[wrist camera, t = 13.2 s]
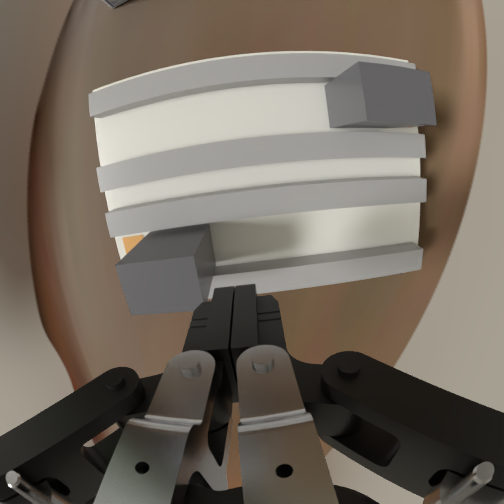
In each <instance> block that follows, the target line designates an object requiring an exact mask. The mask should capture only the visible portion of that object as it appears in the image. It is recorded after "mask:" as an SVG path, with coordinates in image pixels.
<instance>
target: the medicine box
mask: <svg viewBox="0 0 504 504" xmlns="http://www.w3.org/2000/svg"><path fill="white" fill-rule="evenodd" d="M103 1H104V2H105V3H106V4H107V5H108V6H109V7H110V8H112V9H113V8H115V7H117V6H118V5H120V4H122V3H124V2H126V1H127V0H103Z"/></svg>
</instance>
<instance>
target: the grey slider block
mask: <svg viewBox="0 0 504 504" xmlns="http://www.w3.org/2000/svg"><path fill="white" fill-rule="evenodd" d="M115 266H116V269H117V273H118V276H119V279H120V283H121V286H122V289H123V292H124V295H125V298H126V301H127V304H128V307H129V310H130V312H131V315H141V314H158V313H173V312H187V311H194V310H195V309H196V308H197V307H198V306H199V305H200V304H201V303H202V302H207V300H208V296H209V292H210V287H211V283H212V279H213V275H214V270H215V266H216V261H215V255H214V249H213V243H212V238H211V232H210V225H209V223H206V224H199V225H191V226H184V227H177V228H170V229H163V230H157V231H150V232H149V233H148V234H147V235H146V236H145V237H144V238H143V239H142V240H141V241H140V242H139V243H138V244H137V245H136V246H135V247H134V248H132V249H131V250H130V251H129V252H128V253H127V254H126V255H125V256H124V257H123V258H122V259H121V260H120V261H119V262H118V263H117V264H116V265H115Z"/></svg>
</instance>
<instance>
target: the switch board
mask: <svg viewBox="0 0 504 504" xmlns="http://www.w3.org/2000/svg"><path fill="white" fill-rule="evenodd" d="M358 61H360V62H370V63H379V64H387V65H394V66H400V67H406V68H411V69H416V68H415V64H413V63H408V61H407V60H401V59H396V58H389V57H383V56H375V55H367V54H357V53H345V52H326V51H282V52H263V53H251V54H241V55H232V56H225V57H218V58H211V59H205V60H199V61H194V62H189V63H184V64H179V65H175V66H170V67H166V68H162V69H158V70H154V71H150V72H147V73H143V74H140V75H136V76H133V77H130V78H126V79H123V80H120V81H117V82H114V83H111V84H109V85H106V86H103V87H100V88H98V89H95V90H93V93H90V94H88V95H89V110H90V117H94V118H95V127H96V136H97V145H98V152H99V159H100V166H101V167H98V168H96V169H97V175H98V181H99V186H100V192H105V194H106V199H107V204H108V209H109V212H107V213H106V214H105V216H106V220H107V225H108V229H109V233H110V237H115V239H116V243H117V247H118V251H119V255H120V258H121V259H122V258H123V257H124V256H125V255H126V254H127V253H128V252H129V251H130V250H131V249H132V248H134V247H135V246H136V245H137V244H138V243H139V242H140V241H141V240H142V239H143V238H144V237H145V236H146V235H147V234H148V233H149V232H150V231H157V230H163V229H170V228H177V227H184V226H191V225H199V224H206V223H209V225H210V232H211V238H212V243H213V249H214V255H215V261H216V266H215V270H214V275H213V279H212V283H211V287H210V292H209V296H208V299H212V297H213V292H214V288H219V287H229V286H238V285H247V284H255V285H256V292H257V294H260V293H268V292H277V291H285V290H293V289H300V288H308V287H315V286H322V285H329V284H336V283H343V282H350V281H356V280H362V279H369V278H375V277H381V276H387V275H393V274H399V273H404V272H410V271H415V270H421V265H422V257H423V248H421V247H420V246H418V237H419V221H420V202H426V189H427V179H426V178H422V177H420V158H426V148H425V134H418V126H414V127H399V128H386V129H385V128H330V126H329V117H328V109H327V101H326V94H325V87H324V86H325V85H326V84H328V83H329V82H330V81H332V80H333V79H334V78H336V77H337V76H338V75H340V74H341V73H342V72H344V71H345V70H347V69H348V68H349V67H351V66H352V65H354V64H355V63H357V62H358Z"/></svg>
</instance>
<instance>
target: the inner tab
mask: <svg viewBox="0 0 504 504" xmlns="http://www.w3.org/2000/svg"><path fill="white" fill-rule="evenodd" d="M324 87H325V94H326V101H327V109H328V117H329V126H330V128H385V129H386V128H399V127H414V126H437V123H436V113H435V105H434V98H433V91H432V85H431V79H430V74H429V72H426V71H422V70H417V69H411V68H406V67H400V66H394V65H387V64H379V63H370V62H360V61H358V62H357V63H355V64H354V65H352V66H351V67H349V68H348V69H347V70H345V71H344V72H342V73H341V74H340V75H338V76H337V77H336V78H334V79H333V80H332V81H330V82H329V83H328V84H326V85H325V86H324Z"/></svg>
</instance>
